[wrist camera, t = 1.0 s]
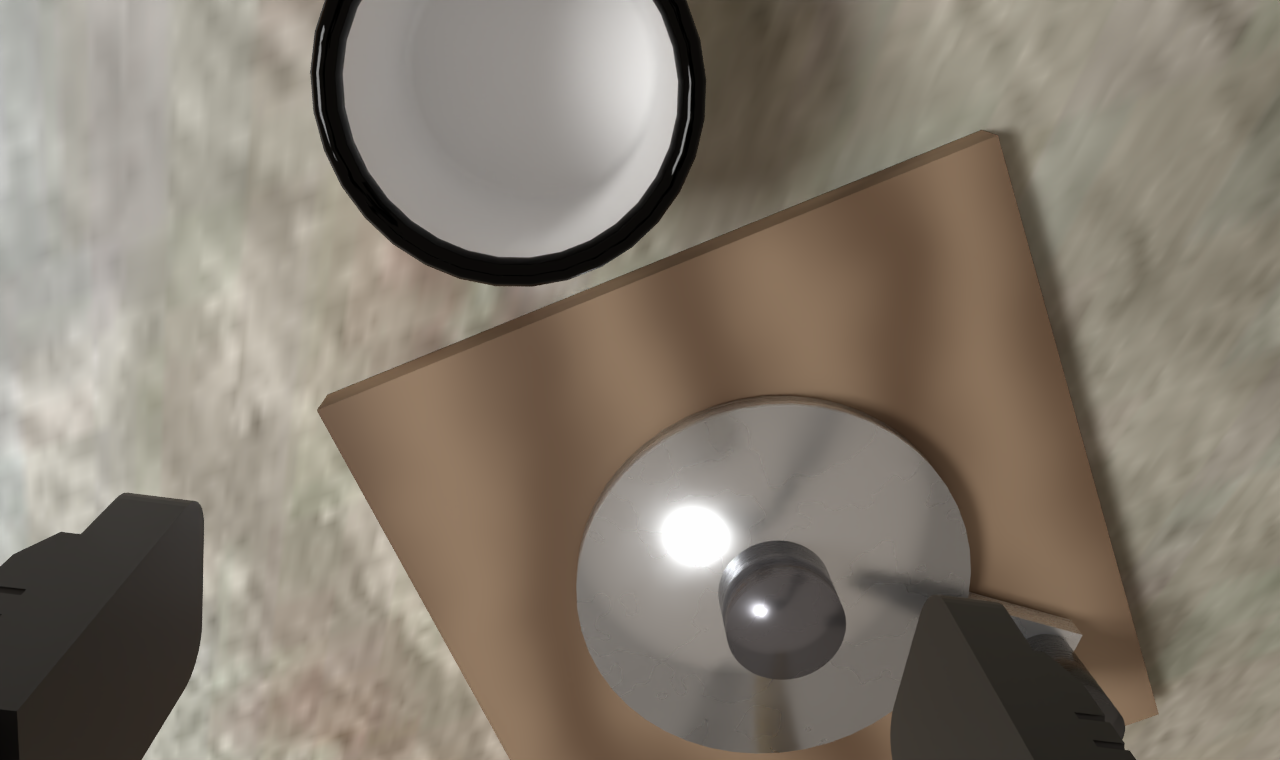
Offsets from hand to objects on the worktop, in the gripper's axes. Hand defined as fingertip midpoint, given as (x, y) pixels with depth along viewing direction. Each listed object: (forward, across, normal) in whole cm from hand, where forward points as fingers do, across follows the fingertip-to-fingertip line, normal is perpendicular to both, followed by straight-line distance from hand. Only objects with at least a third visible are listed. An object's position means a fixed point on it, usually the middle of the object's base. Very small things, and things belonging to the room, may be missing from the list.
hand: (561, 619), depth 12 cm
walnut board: (+25, -8, +12) cm, 29 cm away
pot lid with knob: (+23, -11, +12) cm, 28 cm away
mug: (+25, +2, -5) cm, 26 cm away
